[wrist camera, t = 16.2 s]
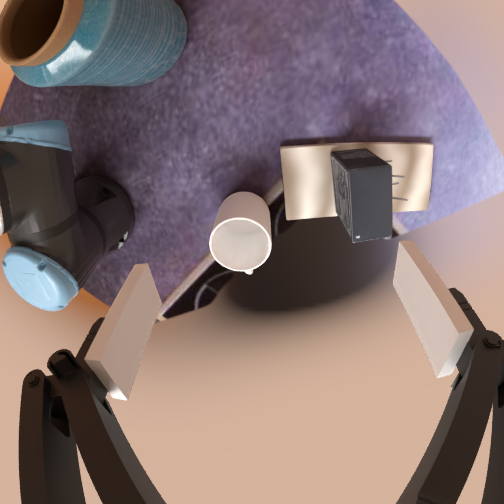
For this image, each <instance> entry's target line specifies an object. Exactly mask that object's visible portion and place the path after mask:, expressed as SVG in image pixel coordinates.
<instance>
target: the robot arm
mask: <svg viewBox="0 0 504 504" xmlns="http://www.w3.org/2000/svg"><path fill="white" fill-rule="evenodd" d="M71 152H72V148H71V147H70V141H69V133H68V128H67V125H66V124H65V123H64V122H63V121H61V120H58V119H55V120H45V121H38V122H31V123H24V124H18V125H13V126H7V127H1V128H0V236H1V235H3V234H4V233H6V232H7V234H8V238H9V241H10V244H11V248H9V249H8V250H7V251H6V253H5V255H4V260H3V270H4V273H5V276H6V278H7V280H8V282H9V283H10V285H11V286H12V287H13V289H14V290H15V291H16V292H17V293H18V294H19V295H20V296H21V297H22V298H23V299H25V300H26V301H27V302H28V303H30V304H32V305H33V306H35V307H37V308H40V309H43V310H47V311H58V310H61V309H63V308H65V307H66V306H67V305H68V304H69V302H70V301H71V300H72V299H73V297H75V296H76V295H77V294H78V292H79V290H80V289H81V287H82V286H83V284H84V283H85V281H86V280H87V278H88V277H89V275H90V274H91V272H92V271H93V270H94V268H95V267H96V265H97V264H98V262H99V261H100V260H101V258H102V257H104V256H107V255H109V254H111V253H113V252H115V251H117V250H118V249H119V248H121V247H122V246H123V245H124V244H125V242H126V241H127V240H128V238H129V237H130V235H131V233H132V231H133V228H134V211H133V207H132V204H131V202H130V200H129V198H128V196H127V195H126V193H125V192H124V191H123V189H122V188H121V187H120V186H119V185H117V184H116V183H115V182H113V181H112V180H110V179H108V178H105V177H102V176H87V177H84V178H82V179H80V180H79V181H77V182H76V183H75V179H74V172H73V164H72V156H71ZM393 285H394V287H395V289H396V291H397V293H398V295H399V297H400V299H401V301H402V303H403V305H404V307H405V309H406V311H407V313H408V315H409V317H410V319H411V321H412V323H413V325H414V328H415V329H416V332H417V334H418V336H419V338H420V340H421V343H422V345H423V347H424V349H425V351H426V354H427V356H428V358H429V361H430V363H431V365H432V367H433V370H434V372H435V375H436V377H437V378H439V377H443V376H447V375H450V374H452V372H453V370H454V368H455V367H456V366H457V368H458V370H459V373H458V375H457V377H456V379H455V380H454V382H453V384H452V385H451V387H453V389H452V391H451V394H450V397H449V399H448V402H447V405H446V407H445V410H444V412H443V415H442V417H441V420H440V422H439V424H438V426H437V429H436V431H435V433H434V435H433V437H432V440H431V442H430V444H429V446H428V448H427V450H426V452H425V454H424V456H423V458H422V460H421V462H420V464H419V465H418V467H417V469H416V471H415V473H414V475H413V476H412V478H411V480H410V482H409V483H408V485H407V487H406V488H405V490H404V492H403V493H402V495H401V496H400V498H399V500H398V501H397V503H396V504H456V502H457V500H458V498H459V496H460V494H461V491H462V489H463V487H464V485H465V483H466V480H467V478H468V475H469V473H470V471H471V468H472V466H473V463H474V461H475V458H476V455H477V453H478V450H479V447H480V444H481V441H482V438H483V435H484V432H485V429H486V426H487V422H488V419H489V415H490V412H491V408H492V404H493V420H492V435H491V447H490V457H489V464H488V471H487V477H486V483H485V488H484V494H483V499H482V503H481V504H504V340H502V339H501V337H500V336H499V335H498V334H497V333H495V332H493V331H489V330H486V328H485V327H484V325H483V324H482V322H481V321H480V319H479V318H478V316H477V314H476V313H475V311H474V310H473V309H472V307H471V305H470V304H469V303H468V301H467V300H466V298H465V297H464V295H463V294H462V293H461V292H459V291H458V290H457V289H455V288H450V289H448V288H447V287H446V285H445V284H444V282H443V281H442V280H441V278H440V277H439V275H438V274H437V273H436V271H435V270H434V269H433V267H432V266H431V264H430V263H429V262H428V260H427V259H426V258H425V257H424V255H423V254H422V253H421V251H420V250H419V248H418V247H417V246H416V245H415V243H414V242H413V241H412V240H407V241H400V242H399V247H398V255H397V261H396V267H395V273H394V279H393ZM161 305H162V302H161V299H160V297H159V294H158V291H157V289H156V286H155V283H154V280H153V278H152V275H151V272H150V269H149V266H148V263H146V264H135V265H134V267H133V269H132V271H131V272H130V274H129V276H128V277H127V279H126V281H125V283H124V284H123V286H122V288H121V290H120V291H119V293H118V295H117V297H116V299H115V300H114V302H113V304H112V306H111V308H110V310H109V311H108V313H107V315H106V317H105V318H99V319H98V320H97V321H96V322H95V323H94V324H93V326H92V327H91V329H90V331H89V334H88V335H87V337H86V339H85V341H84V343H83V344H82V346H81V348H80V350H79V352H78V354H77V356H76V358H75V357H74V356H73V354H72V353H71V351H69V350H67V349H62V350H58V351H56V352H55V353H54V354H52V356H51V357H50V358H49V360H48V362H47V367H48V369H49V370H50V371H51V372H52V374H53V375H51V376H46V375H45V374H44V373H43V372H42V371H41V370H39V369H36V370H33V371H31V372H29V373H28V374H27V375H26V377H25V378H24V381H23V386H22V395H21V407H20V423H19V478H20V493H21V502H22V504H86V503H85V497H84V492H83V487H82V481H81V475H80V469H79V462H78V455H77V447H76V443H77V446H78V449H79V451H80V454H81V456H82V459H83V461H84V463H85V466H86V468H87V471H88V473H89V475H90V478H91V480H92V482H93V484H94V486H95V489H96V491H97V493H98V495H99V497H100V499H101V501H102V503H103V504H166V503H165V501H164V500H163V498H162V497H161V495H160V494H159V492H158V491H157V489H156V488H155V486H154V485H153V483H152V482H151V480H150V478H149V477H148V475H147V474H146V472H145V470H144V469H143V467H142V465H141V464H140V462H139V460H138V458H137V457H136V455H135V453H134V451H133V450H132V448H131V446H130V444H129V442H128V441H127V439H126V437H125V435H124V433H123V431H122V429H121V427H120V425H119V423H118V421H117V419H116V417H115V415H114V413H113V411H112V408H111V406H110V404H109V402H108V401H107V399H106V398H105V397H106V394H107V392H109V393H110V395H111V396H112V397H113V398H114V399H122V400H128V398H129V395H130V392H131V389H132V386H133V383H134V380H135V377H136V374H137V371H138V368H139V365H140V362H141V359H142V356H143V354H144V351H145V348H146V345H147V342H148V339H149V337H150V334H151V331H152V329H153V326H154V323H155V320H156V318H157V315H158V312H159V310H160V307H161Z"/></svg>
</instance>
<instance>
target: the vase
mask: <svg viewBox="0 0 504 504" xmlns="http://www.w3.org/2000/svg"><path fill="white" fill-rule="evenodd" d="M187 31H188V29H187V21H186V17H185V15H184V13H183V11H182V9H181V8H180V6H179V5H178V4H177V3H176V2H175V1H174V0H8V1H7V3H6V4H5V6H4V8H3V10H2V12H1V15H0V57H1V59H2V60H3V61H4V62H6V63H7V64H9V65H10V66H11V69H12V70H13V72H14V74H15V75H16V76H17V77H18V78H19V79H20V80H21V81H22V82H24V83H26V84H28V85H31V86H35V87H54V86H81V85H98V86H125V87H132V86H139V85H144V84H147V83H149V82H152V81H154V80H156V79H158V78H159V77H161V76H162V75H163V74H165V73H166V72H167V71H168V70H169V69H170V68H171V67H172V66H173V65H174V64H175V63H176V61H177V60H178V59H179V57H180V55H181V53H182V51H183V49H184V47H185V44H186V40H187Z"/></svg>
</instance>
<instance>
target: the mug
mask: <svg viewBox="0 0 504 504" xmlns="http://www.w3.org/2000/svg"><path fill="white" fill-rule="evenodd" d="M209 246H210V250H211V253H212V255H213V257H214V258H215V259H216V261H217V262H218V263H220V264H221V265H222V266H224V267H226V268H228V269H231V270H235V271H245V272H246V273H247V274H252V272H253V269H255V268H257V267H259V266H260V265H261V264H263V263H264V262H265V261H266V259H267V258H268V256H269V254H270V252H271V224H270V212H269V208H268V206H267V204H266V203H265V201H264V200H263V199H262V198H261V197H259V196H258V195H256V194H254V193H251V192H237V193H234V194H232V195H230V196H228V197H227V198H226V199H225V200H224V201H223V202H222V204H221V206H220V208H219V211H218V214H217V217H216V220H215V223H214V226H213V229H212V233H211V236H210V241H209Z"/></svg>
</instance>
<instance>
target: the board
mask: <svg viewBox="0 0 504 504" xmlns="http://www.w3.org/2000/svg"><path fill="white" fill-rule="evenodd" d="M363 148H366V149H368V150H369V151H371V152H372V153H374V154H375V155H377V156H378V157H380V158H381V159H383V160H384V161H386V162H387V163H388V164H390V165H392V193H393V199H392V202H393V211H392V212H401V211H418V210H428V204H429V196H430V186H431V174H432V160H433V145H432V144H430V143H416V142H353V143H327V144H310V145H295V146H283V147H280V155H281V165H282V175H283V186H284V198H285V210H286V219H287V220H293V219H305V218H317V217H330V216H338V215H337V213H336V208H335V197H334V186H333V175H332V165H331V155H330V153H331V152H333V151H343V150H352V149H363Z"/></svg>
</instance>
